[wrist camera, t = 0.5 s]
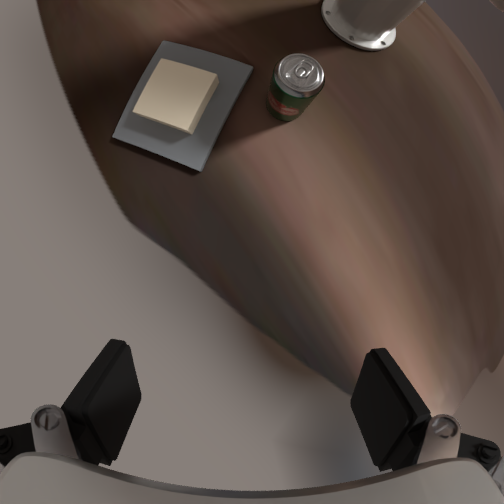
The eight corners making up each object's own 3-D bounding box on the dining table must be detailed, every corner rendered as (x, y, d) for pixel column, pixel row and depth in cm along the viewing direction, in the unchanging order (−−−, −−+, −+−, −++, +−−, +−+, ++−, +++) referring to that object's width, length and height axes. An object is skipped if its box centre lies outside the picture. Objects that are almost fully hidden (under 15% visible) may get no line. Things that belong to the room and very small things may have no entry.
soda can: (258, 108, 32) (263, 75, 21) (279, 81, 31) (293, 41, 20) (289, 129, 33) (309, 105, 22) (310, 102, 32) (337, 70, 21)
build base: (165, 43, 29) (157, 31, 25) (253, 70, 31) (253, 57, 27) (115, 138, 33) (101, 134, 29) (201, 171, 34) (195, 170, 30)
